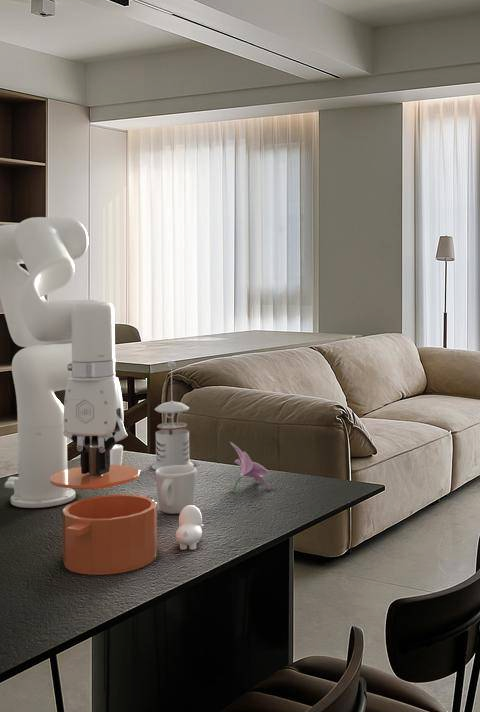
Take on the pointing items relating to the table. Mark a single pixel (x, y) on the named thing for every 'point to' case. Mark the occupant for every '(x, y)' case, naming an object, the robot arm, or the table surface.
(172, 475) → the cup
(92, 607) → the table surface
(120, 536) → the pot
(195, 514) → the toy creature
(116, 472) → the lid
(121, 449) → the white short tapered cylinder
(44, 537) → the table surface
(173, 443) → the white hanging lantern
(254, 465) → the lily
